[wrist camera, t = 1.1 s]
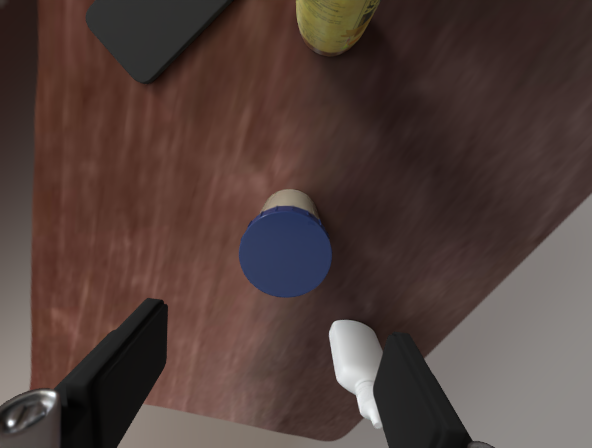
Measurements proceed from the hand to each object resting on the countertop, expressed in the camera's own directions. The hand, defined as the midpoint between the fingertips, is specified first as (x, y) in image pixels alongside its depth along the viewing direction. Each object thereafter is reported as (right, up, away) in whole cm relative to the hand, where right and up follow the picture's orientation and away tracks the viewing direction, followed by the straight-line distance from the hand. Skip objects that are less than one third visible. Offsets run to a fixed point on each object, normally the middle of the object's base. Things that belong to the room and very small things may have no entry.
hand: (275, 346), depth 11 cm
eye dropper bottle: (+8, -9, +24) cm, 26 cm away
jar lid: (0, +3, +9) cm, 9 cm away
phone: (-10, +25, +14) cm, 30 cm away
